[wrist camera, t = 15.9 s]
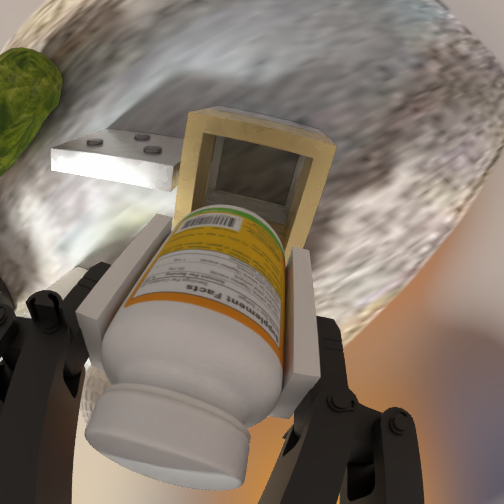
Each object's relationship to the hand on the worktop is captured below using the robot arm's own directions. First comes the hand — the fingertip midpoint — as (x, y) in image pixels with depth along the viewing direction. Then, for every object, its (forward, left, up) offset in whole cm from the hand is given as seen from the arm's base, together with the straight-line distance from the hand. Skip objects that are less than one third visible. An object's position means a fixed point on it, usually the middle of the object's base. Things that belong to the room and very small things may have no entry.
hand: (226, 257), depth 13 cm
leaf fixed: (-6, 0, -18) cm, 19 cm away
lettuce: (-32, +2, -18) cm, 37 cm away
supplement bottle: (0, 0, -1) cm, 1 cm away
